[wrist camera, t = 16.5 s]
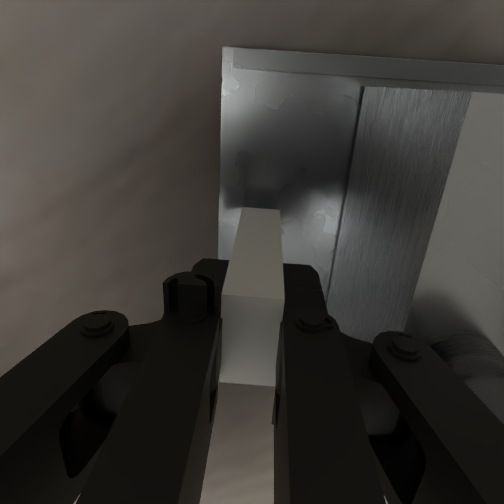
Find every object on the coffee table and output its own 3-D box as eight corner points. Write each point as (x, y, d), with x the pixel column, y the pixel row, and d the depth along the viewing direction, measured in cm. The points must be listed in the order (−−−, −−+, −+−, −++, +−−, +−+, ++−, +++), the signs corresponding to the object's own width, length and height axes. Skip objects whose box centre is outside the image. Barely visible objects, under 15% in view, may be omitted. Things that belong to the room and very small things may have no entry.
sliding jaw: (319, 345, 19) (365, 597, 10) (364, 86, 14) (554, 96, 4) (390, 351, 19) (505, 609, 9) (463, 93, 13) (858, 116, 4)
